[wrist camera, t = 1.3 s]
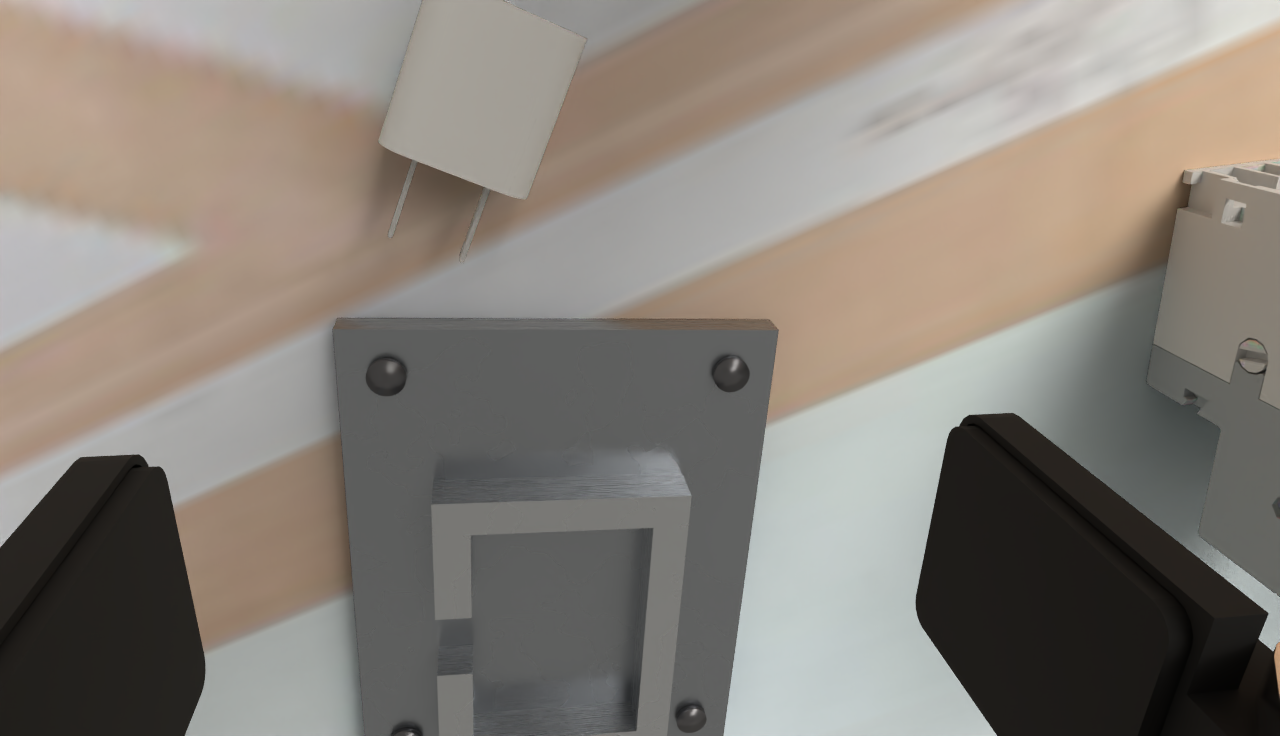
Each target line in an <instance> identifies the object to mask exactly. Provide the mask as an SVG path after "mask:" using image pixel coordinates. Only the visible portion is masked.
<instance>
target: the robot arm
mask: <svg viewBox="0 0 1280 736" xmlns="http://www.w3.org/2000/svg"><path fill="white" fill-rule="evenodd" d="M916 611H917V616H918V619H919V622H920V624H921V626H922V628H923V629H924V631H925V632H926V633H927V635H928V636H929V638H930V639H931V641H932V642H933V644H934V645H935V646H936V648H937V649H938V651H939V652H940V654H941V655H942V657H943V658H944V659H945V661H946V662H947V664H948V665H949V667H950V668H951V670H952V671H953V672H954V674H955V675H956V677H957V678H958V680H959V681H960V683H961V684H962V685H963V687H964V688H965V690H966V691H967V693H968V694H969V695H970V697H971V698H972V700H973V701H974V703H975V704H976V706H977V707H978V708H979V710H980V711H981V713H982V714H983V716H984V717H985V719H986V720H987V721H988V723H989V724H990V726H991V727H992V729H993V730H994V732H995V733H996V734H997V736H1280V642H1279V643H1278V644H1277V645H1276V647H1275V650H1274V652H1273V651H1272V650H1270V649H1269V648H1268V647H1267V646H1266V645H1264V644H1263V643H1262V642H1261V641H1260V640H1258V638H1259V636H1260V633H1261V631H1262V628H1263V626H1264V623H1265V621H1266V618H1267V616H1268V613H1267V612H1266V611H1265V610H1264V609H1262V608H1261V607H1260V606H1258V605H1257V604H1256V603H1255V602H1253V601H1252V600H1251V599H1250V598H1248V597H1247V596H1246V595H1245V594H1243V593H1242V592H1241V591H1240V590H1238V589H1237V588H1236V587H1234V586H1233V585H1232V584H1231V583H1229V582H1228V581H1227V580H1226V579H1224V578H1223V577H1222V576H1221V575H1219V574H1218V573H1217V572H1215V571H1214V570H1213V569H1212V568H1210V567H1209V566H1208V565H1207V564H1205V563H1204V562H1203V561H1202V560H1200V559H1199V558H1198V557H1196V556H1195V555H1194V554H1193V553H1191V552H1190V551H1189V550H1188V549H1186V548H1185V547H1184V546H1183V545H1181V544H1180V543H1179V542H1177V541H1176V540H1175V539H1174V538H1172V537H1171V536H1170V535H1169V534H1167V533H1166V532H1165V531H1164V530H1162V529H1161V528H1160V527H1159V526H1157V525H1156V524H1155V523H1153V522H1152V521H1151V520H1150V519H1148V518H1147V517H1146V516H1145V515H1143V514H1142V513H1141V512H1140V511H1138V510H1137V509H1136V508H1134V507H1133V506H1132V505H1131V504H1129V503H1128V502H1127V501H1126V500H1124V499H1123V498H1122V497H1121V496H1119V495H1118V494H1117V493H1115V492H1114V491H1113V490H1112V489H1110V488H1109V487H1108V486H1107V485H1105V484H1104V483H1103V482H1102V481H1100V480H1099V479H1098V478H1096V477H1095V476H1094V475H1093V474H1091V473H1090V472H1089V471H1088V470H1086V469H1085V468H1084V467H1083V466H1081V465H1080V464H1079V463H1077V462H1076V461H1075V460H1074V459H1072V458H1071V457H1070V456H1069V455H1067V454H1066V453H1065V452H1064V451H1062V450H1061V449H1060V448H1059V447H1057V446H1056V445H1055V444H1053V443H1052V442H1051V441H1050V440H1048V439H1047V438H1046V437H1045V436H1043V435H1042V434H1041V433H1040V432H1038V431H1037V430H1036V429H1034V428H1033V427H1032V426H1031V425H1029V424H1028V423H1027V422H1026V421H1024V420H1023V419H1022V418H1021V417H1019V416H1017V415H1015V414H1014V413H1003V414H982V415H969V416H967V417H965V418H964V419H963V421H962V422H961V424H960V426H959V427H955V428H953V429H952V430H951V432H950V433H949V436H948V439H947V443H946V448H945V453H944V458H943V463H942V468H941V473H940V478H939V483H938V488H937V494H936V499H935V504H934V509H933V514H932V519H931V524H930V529H929V534H928V539H927V544H926V549H925V554H924V559H923V564H922V569H921V574H920V579H919V584H918V589H917V594H916ZM204 680H205V657H204V652H203V647H202V642H201V638H200V633H199V628H198V623H197V619H196V614H195V609H194V604H193V600H192V595H191V590H190V585H189V581H188V576H187V571H186V567H185V562H184V557H183V552H182V548H181V543H180V538H179V533H178V529H177V524H176V519H175V514H174V510H173V505H172V500H171V495H170V491H169V486H168V481H167V478H166V474H165V472H164V471H163V469H162V468H161V467H148V464H147V462H146V461H145V459H144V458H143V457H142V456H140V455H119V456H97V457H80V458H79V459H78V460H76V461H75V462H74V463H73V464H72V465H71V467H70V468H69V469H68V470H67V471H66V472H65V474H64V475H63V476H62V477H61V478H60V479H59V480H58V482H57V483H56V484H55V485H54V486H53V487H52V489H51V490H50V491H49V492H48V493H47V494H46V495H45V497H44V498H43V499H42V500H41V501H40V502H39V504H38V505H37V506H36V507H35V508H34V509H33V511H32V512H31V513H30V514H29V515H28V516H27V517H26V519H25V520H24V521H23V522H22V523H21V524H20V526H19V527H18V528H17V529H16V530H15V531H14V532H13V534H12V535H11V536H10V537H9V538H8V539H7V541H6V542H5V543H4V544H3V545H2V546H1V548H0V736H185V733H186V731H187V728H188V726H189V723H190V721H191V718H192V716H193V713H194V711H195V708H196V706H197V703H198V701H199V698H200V696H201V693H202V690H203V686H204Z"/></svg>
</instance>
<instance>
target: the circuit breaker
mask: <svg viewBox="0 0 1280 736" xmlns="http://www.w3.org/2000/svg"><path fill="white" fill-rule="evenodd" d="M1182 183H1186V184H1192V186H1191V191H1190V196H1189V202H1188V207H1184V208H1178V209H1177V214H1176V220H1175V225H1174V231H1173V236H1172V242H1171V247H1170V253H1169V258H1168V264H1167V269H1166V275H1165V280H1164V286H1163V291H1162V297H1161V302H1160V308H1159V313H1158V318H1157V324H1156V329H1155V335H1154V340H1153V346H1152V351H1151V357H1150V363H1149V368H1148V374H1147V380H1146V382H1147V384H1148V385H1149V386H1150V387H1152V388H1154V389H1156V390H1157V391H1159V392H1161V393H1162V394H1164V395H1166V396H1167V397H1169V398H1171V399H1173V400H1174V401H1176V402H1178V403H1179V404H1181V405H1188V404H1194V405H1196V406H1198V407H1199V408H1201V409H1200V410H1199V412H1198V413H1197V414H1198V415H1200V416H1201V417H1203V418H1205V419H1206V420H1208V421H1210V422H1212V423H1213V424H1215V425H1217V426H1218V427H1219V428H1220V430H1221V431H1220V436H1219V440H1218V445H1217V449H1216V454H1215V458H1214V463H1213V467H1212V472H1211V476H1210V481H1209V485H1208V490H1207V494H1206V499H1205V503H1204V508H1203V512H1202V517H1201V521H1200V526H1199V530H1198V533H1199V536H1200V537H1201V538H1202V539H1204V540H1205V541H1206V542H1208V543H1209V544H1210V545H1212V546H1213V547H1214V548H1216V549H1217V550H1218V551H1220V552H1221V553H1222V554H1224V555H1225V556H1226V557H1228V558H1229V559H1230V560H1232V561H1233V562H1234V563H1235V564H1237V565H1238V566H1239V567H1241V568H1242V569H1243V570H1245V571H1246V572H1247V573H1249V574H1250V575H1251V576H1253V577H1254V578H1255V579H1257V580H1258V581H1259V582H1261V583H1262V584H1263V585H1265V586H1266V587H1267V588H1268V589H1270V590H1271V591H1272V592H1274V593H1277V595H1278V596H1279V597H1280V159H1273V160H1265V161H1256V162H1248V163H1240V164H1232V165H1224V166H1215V167H1207V168H1199V169H1191V170H1185V171H1184V176H1183V182H1182Z"/></svg>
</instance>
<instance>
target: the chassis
mask: <svg viewBox="0 0 1280 736" xmlns="http://www.w3.org/2000/svg"><path fill="white" fill-rule="evenodd" d="M778 331H779V330H778V329H777V328H776V327H775V326H774V324H773V323H772V322H771V321H770V320H725V319H473V318H337V321H336V323H335V325H334V327H333V340H334V353H335V366H336V378H337V391H338V404H339V416H340V429H341V442H342V454H343V467H344V480H345V492H346V505H347V518H348V530H349V543H350V556H351V568H352V581H353V594H354V606H355V619H356V632H357V644H358V657H359V670H360V683H361V695H362V708H363V721H364V733H365V736H723V734H724V726H725V719H726V712H727V704H728V697H729V690H730V682H731V675H732V668H733V660H734V653H735V646H736V638H737V631H738V624H739V616H740V609H741V602H742V594H743V587H744V580H745V572H746V565H747V558H748V550H749V543H750V536H751V528H752V521H753V514H754V507H755V499H756V492H757V485H758V477H759V470H760V463H761V455H762V448H763V441H764V433H765V426H766V419H767V411H768V404H769V397H770V389H771V382H772V375H773V367H774V360H775V353H776V345H777V338H778Z"/></svg>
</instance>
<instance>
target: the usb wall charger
mask: <svg viewBox="0 0 1280 736" xmlns="http://www.w3.org/2000/svg"><path fill="white" fill-rule="evenodd" d="M586 41H587V38H585V37H583V36H580V35H578V34H576V33H574V32H571V31H569V30H567V29H565V28H563V27H560V26H558V25H556V24H554V23H552V22H549V21H547V20H545V19H543V18H540V17H538V16H536V15H534V14H532V13H529V12H527V11H525V10H523V9H521V8H518V7H516V6H514V5H512V4H509V3H507V2H505V1H503V0H422V3H421V6H420V9H419V13H418V16H417V19H416V22H415V25H414V29H413V32H412V35H411V38H410V41H409V45H408V48H407V51H406V54H405V57H404V60H403V64H402V67H401V70H400V73H399V76H398V80H397V83H396V86H395V89H394V92H393V96H392V99H391V102H390V105H389V108H388V112H387V115H386V118H385V121H384V124H383V127H382V131H381V134H380V137H379V140H378V142H379V143H380V144H381V145H382V146H383V147H385V148H387V149H389V150H391V151H393V152H395V153H397V154H399V155H402V156H404V157H407V158H409V159H412V162H411V165H410V168H409V171H408V174H407V177H406V180H405V183H404V186H403V189H402V192H401V195H400V198H399V201H398V204H397V208H396V211H395V214H394V217H393V220H392V223H391V226H390V229H389V232H388V237H389V238H392V237H393V234H394V232H395V229H396V226H397V223H398V220H399V217H400V214H401V211H402V208H403V205H404V202H405V199H406V196H407V193H408V190H409V187H410V184H411V181H412V178H413V174H414V171H415V168H416V165H417V162H420V163H423V164H425V165H428V166H430V167H433V168H436V169H438V170H441V171H444V172H446V173H449V174H451V175H454V176H457V177H459V178H462V179H465V180H467V181H470V182H472V183H475V184H478V185H480V186H483V190H482V193H481V196H480V199H479V201H478V204H477V207H476V210H475V212H474V215H473V218H472V221H471V224H470V226H469V229H468V232H467V235H466V238H465V241H464V243H463V246H462V249H461V252H460V259H459V261H460V263H463V262H464V260H465V258H466V255H467V252H468V250H469V247H470V244H471V242H472V239H473V236H474V233H475V231H476V228H477V225H478V222H479V220H480V217H481V214H482V211H483V209H484V206H485V203H486V200H487V197H488V195H489V192H490V189H491V190H493V191H496V192H499V193H501V194H504V195H507V196H510V197H514V198H518V199H527V197H528V194H529V192H530V189H531V187H532V184H533V181H534V179H535V176H536V173H537V171H538V168H539V165H540V163H541V160H542V157H543V155H544V152H545V149H546V147H547V144H548V141H549V139H550V136H551V134H552V131H553V128H554V126H555V123H556V120H557V118H558V115H559V112H560V110H561V107H562V104H563V102H564V99H565V96H566V94H567V91H568V88H569V86H570V83H571V81H572V78H573V75H574V73H575V70H576V67H577V65H578V62H579V59H580V57H581V54H582V51H583V49H584V46H585V43H586Z"/></svg>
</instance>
